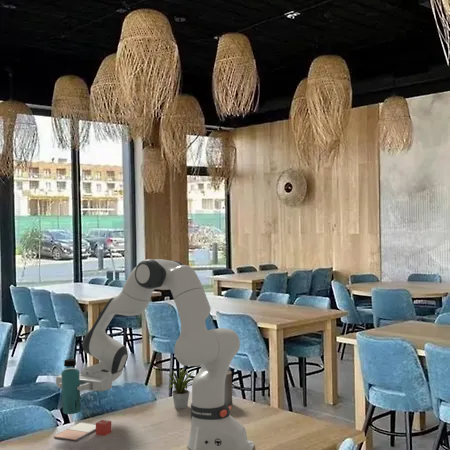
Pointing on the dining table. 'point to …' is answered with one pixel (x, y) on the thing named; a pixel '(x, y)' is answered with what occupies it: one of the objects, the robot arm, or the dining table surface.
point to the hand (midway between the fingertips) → (69, 387)
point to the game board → (77, 431)
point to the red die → (103, 427)
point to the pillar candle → (228, 389)
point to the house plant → (180, 389)
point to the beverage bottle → (70, 388)
